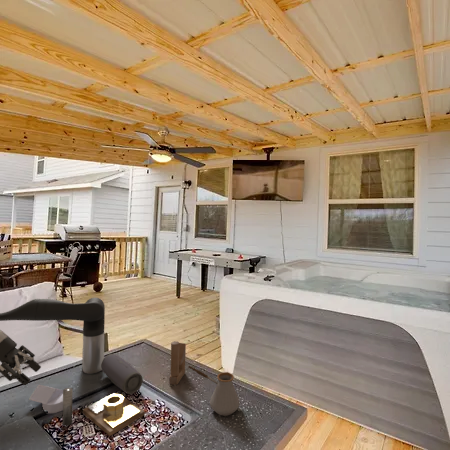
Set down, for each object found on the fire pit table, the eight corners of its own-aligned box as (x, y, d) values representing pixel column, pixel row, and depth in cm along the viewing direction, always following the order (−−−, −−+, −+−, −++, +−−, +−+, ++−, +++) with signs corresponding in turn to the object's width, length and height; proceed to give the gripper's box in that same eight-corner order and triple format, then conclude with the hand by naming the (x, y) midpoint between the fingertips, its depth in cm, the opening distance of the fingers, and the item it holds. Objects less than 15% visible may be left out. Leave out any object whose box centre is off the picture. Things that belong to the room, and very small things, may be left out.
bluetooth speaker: (144, 391, 128) (144, 368, 128) (122, 401, 122) (123, 376, 121) (119, 370, 145) (119, 349, 144) (99, 377, 138) (99, 355, 138)
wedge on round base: (28, 408, 116) (55, 415, 112) (28, 390, 116) (55, 397, 112) (48, 394, 125) (74, 401, 121) (48, 378, 124) (74, 384, 121)
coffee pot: (241, 402, 123) (243, 365, 122) (236, 421, 112) (237, 381, 111) (191, 393, 128) (192, 358, 127) (181, 411, 117) (181, 372, 116)
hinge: (87, 408, 115) (87, 397, 114) (114, 394, 123) (114, 384, 123) (113, 428, 104) (113, 417, 104) (140, 412, 113) (140, 402, 113)
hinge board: (82, 413, 114) (82, 409, 114) (116, 396, 125) (116, 392, 125) (109, 436, 103) (109, 431, 103) (144, 415, 114) (144, 411, 114)
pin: (61, 423, 108) (61, 390, 108) (69, 419, 111) (70, 386, 110) (65, 427, 106) (65, 393, 106) (73, 422, 109) (74, 389, 108)
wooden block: (185, 373, 144) (186, 335, 143) (176, 385, 133) (177, 345, 133) (177, 372, 145) (178, 334, 144) (168, 384, 134) (169, 344, 133)
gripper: (-1, 343, 110) (34, 373, 112) (-26, 363, 96) (14, 396, 98) (16, 328, 111) (50, 358, 113) (-7, 345, 97) (33, 379, 99)
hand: (33, 376), depth 106 cm, fingers open, 8 cm apart
